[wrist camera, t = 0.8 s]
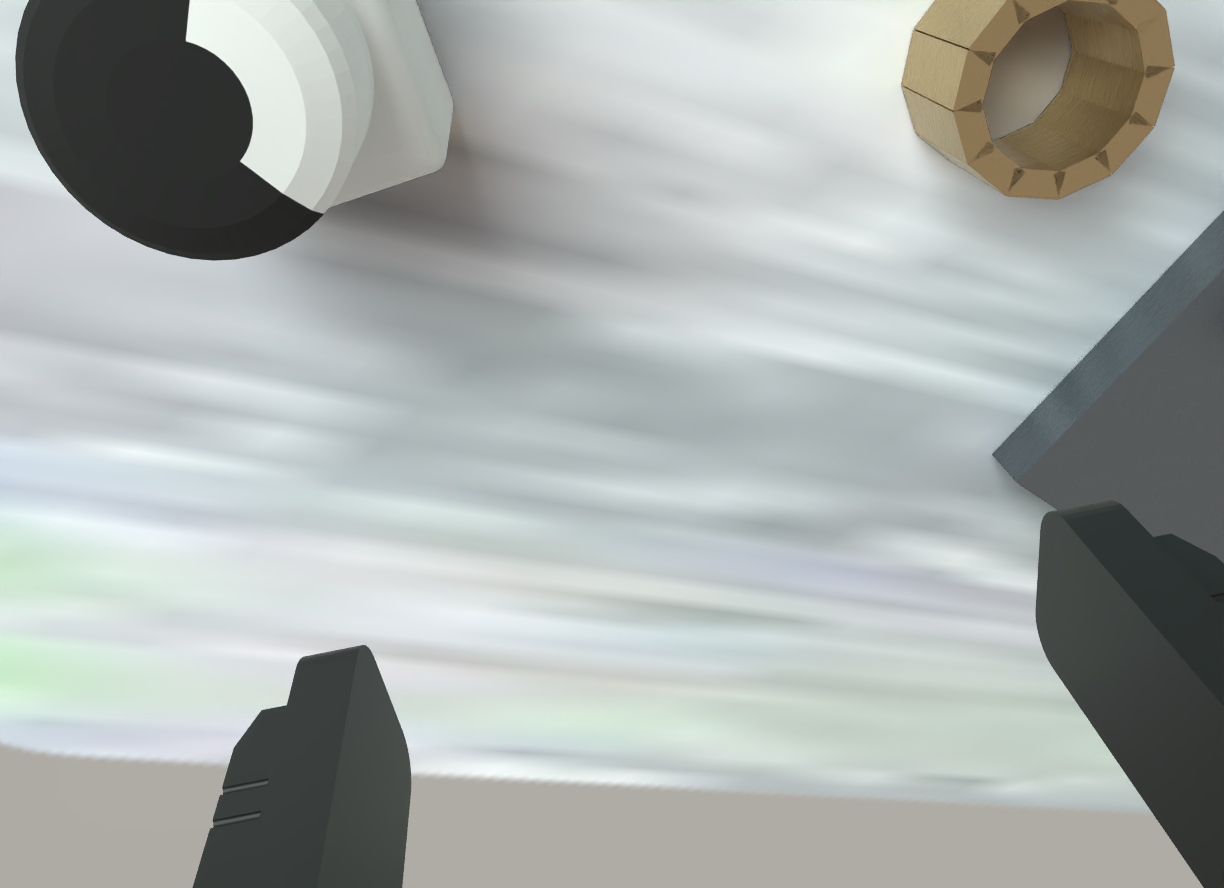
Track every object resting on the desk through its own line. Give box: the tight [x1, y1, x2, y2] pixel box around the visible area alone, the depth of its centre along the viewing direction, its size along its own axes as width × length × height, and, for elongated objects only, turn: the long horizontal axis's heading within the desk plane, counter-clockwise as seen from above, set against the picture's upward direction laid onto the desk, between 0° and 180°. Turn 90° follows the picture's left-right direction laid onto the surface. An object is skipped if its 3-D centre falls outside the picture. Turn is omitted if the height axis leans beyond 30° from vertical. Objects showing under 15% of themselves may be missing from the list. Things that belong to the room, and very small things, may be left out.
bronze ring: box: [901, 0, 1175, 199], centre depth 30 cm, size 6×6×4 cm
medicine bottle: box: [15, 0, 454, 260], centre depth 23 cm, size 7×7×12 cm
